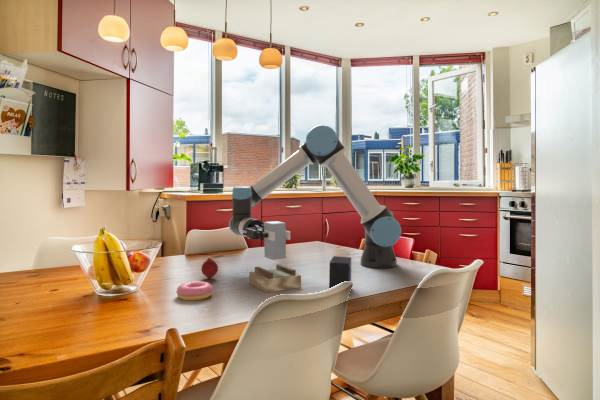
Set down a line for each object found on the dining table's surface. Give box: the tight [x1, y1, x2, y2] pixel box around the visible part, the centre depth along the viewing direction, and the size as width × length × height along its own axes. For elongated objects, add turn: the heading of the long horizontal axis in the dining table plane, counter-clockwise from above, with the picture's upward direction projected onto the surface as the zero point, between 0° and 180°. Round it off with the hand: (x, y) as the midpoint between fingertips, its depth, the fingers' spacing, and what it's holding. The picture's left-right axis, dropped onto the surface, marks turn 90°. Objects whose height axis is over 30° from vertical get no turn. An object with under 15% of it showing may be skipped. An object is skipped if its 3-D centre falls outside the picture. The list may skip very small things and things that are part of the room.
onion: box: [201, 256, 219, 279], centre depth 146 cm, size 6×6×8 cm
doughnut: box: [175, 280, 214, 302], centre depth 124 cm, size 11×11×4 cm
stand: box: [248, 263, 302, 293], centre depth 137 cm, size 13×13×6 cm
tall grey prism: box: [263, 220, 287, 261], centre depth 136 cm, size 5×6×12 cm
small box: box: [328, 255, 352, 289], centre depth 130 cm, size 11×6×10 cm, turn 168°
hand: (281, 236), depth 132 cm, fingers closed on tall grey prism, 5 cm apart
